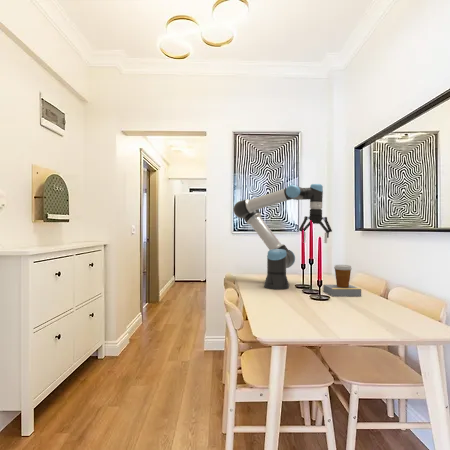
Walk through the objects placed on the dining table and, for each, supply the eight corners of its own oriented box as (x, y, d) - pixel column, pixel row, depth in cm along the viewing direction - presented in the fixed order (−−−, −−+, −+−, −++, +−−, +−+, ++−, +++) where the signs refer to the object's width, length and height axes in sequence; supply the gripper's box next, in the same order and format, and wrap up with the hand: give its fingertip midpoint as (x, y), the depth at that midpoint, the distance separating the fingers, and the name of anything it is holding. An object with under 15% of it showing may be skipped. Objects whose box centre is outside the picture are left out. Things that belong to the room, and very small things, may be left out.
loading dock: (332, 296, 179) (332, 288, 179) (323, 291, 193) (323, 284, 193) (361, 296, 180) (361, 288, 180) (349, 291, 194) (350, 284, 194)
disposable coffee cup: (330, 285, 189) (330, 265, 189) (342, 284, 193) (343, 264, 193) (342, 288, 180) (342, 266, 180) (355, 287, 184) (355, 266, 184)
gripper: (297, 208, 202) (296, 242, 202) (337, 209, 202) (336, 243, 202) (294, 208, 209) (293, 241, 209) (333, 209, 210) (332, 243, 210)
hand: (314, 242), depth 206 cm, fingers open, 13 cm apart
